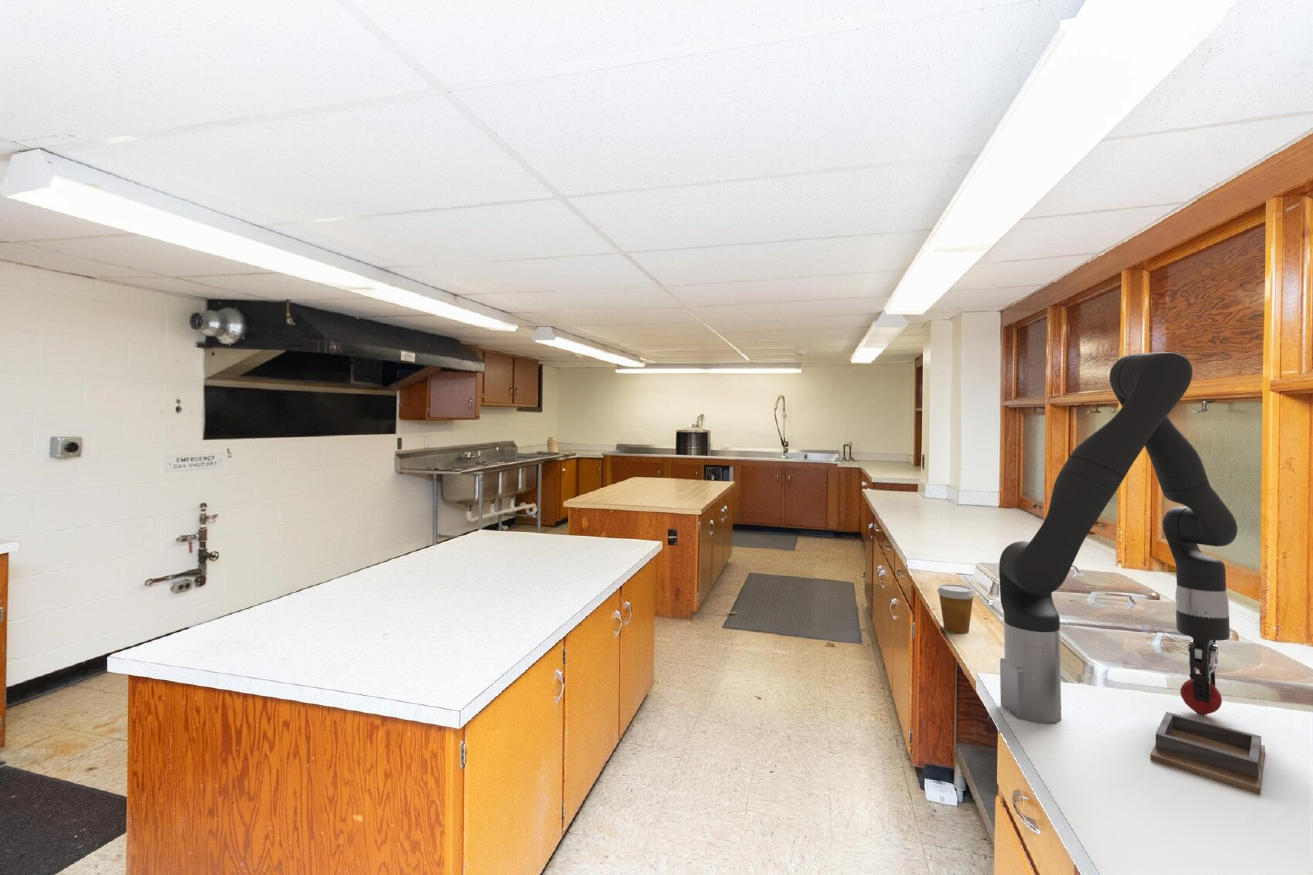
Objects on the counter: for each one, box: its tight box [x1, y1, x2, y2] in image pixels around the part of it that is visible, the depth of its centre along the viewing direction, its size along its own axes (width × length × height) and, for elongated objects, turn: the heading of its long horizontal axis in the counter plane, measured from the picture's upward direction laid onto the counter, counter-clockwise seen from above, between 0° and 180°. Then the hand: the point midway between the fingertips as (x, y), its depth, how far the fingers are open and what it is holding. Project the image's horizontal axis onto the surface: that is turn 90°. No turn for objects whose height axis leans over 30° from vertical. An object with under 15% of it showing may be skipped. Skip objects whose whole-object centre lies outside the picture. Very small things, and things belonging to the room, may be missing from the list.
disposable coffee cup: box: [936, 583, 976, 634], centre depth 163 cm, size 10×10×12 cm
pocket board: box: [1149, 711, 1266, 795], centre depth 97 cm, size 18×13×4 cm
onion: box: [1179, 672, 1223, 716], centre depth 111 cm, size 6×6×8 cm
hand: (1204, 694), depth 111 cm, fingers open, 8 cm apart
